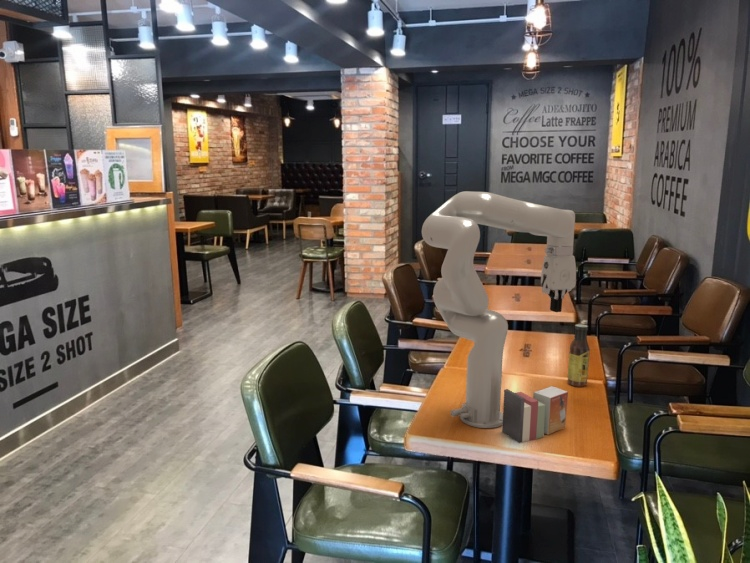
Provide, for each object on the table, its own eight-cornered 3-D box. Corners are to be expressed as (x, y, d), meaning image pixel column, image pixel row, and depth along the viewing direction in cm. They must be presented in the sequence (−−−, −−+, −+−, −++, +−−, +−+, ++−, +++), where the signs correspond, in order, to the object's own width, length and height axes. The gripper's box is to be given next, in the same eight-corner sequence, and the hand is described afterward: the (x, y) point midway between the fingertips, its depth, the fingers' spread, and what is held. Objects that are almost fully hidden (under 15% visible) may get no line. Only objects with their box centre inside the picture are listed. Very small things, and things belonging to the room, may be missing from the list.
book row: (519, 442, 150) (521, 398, 148) (502, 432, 156) (504, 389, 154) (543, 437, 153) (546, 393, 151) (525, 426, 159) (528, 385, 157)
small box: (547, 435, 154) (550, 398, 152) (530, 428, 158) (532, 391, 157) (566, 427, 159) (568, 391, 157) (549, 420, 163) (551, 385, 161)
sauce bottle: (584, 389, 187) (589, 329, 184) (564, 385, 191) (568, 326, 187) (589, 382, 193) (593, 324, 189) (569, 379, 196) (573, 322, 192)
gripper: (548, 254, 167) (544, 316, 170) (587, 251, 173) (583, 311, 177) (531, 251, 174) (528, 310, 177) (569, 248, 180) (565, 306, 183)
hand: (555, 311), depth 177 cm, fingers closed
